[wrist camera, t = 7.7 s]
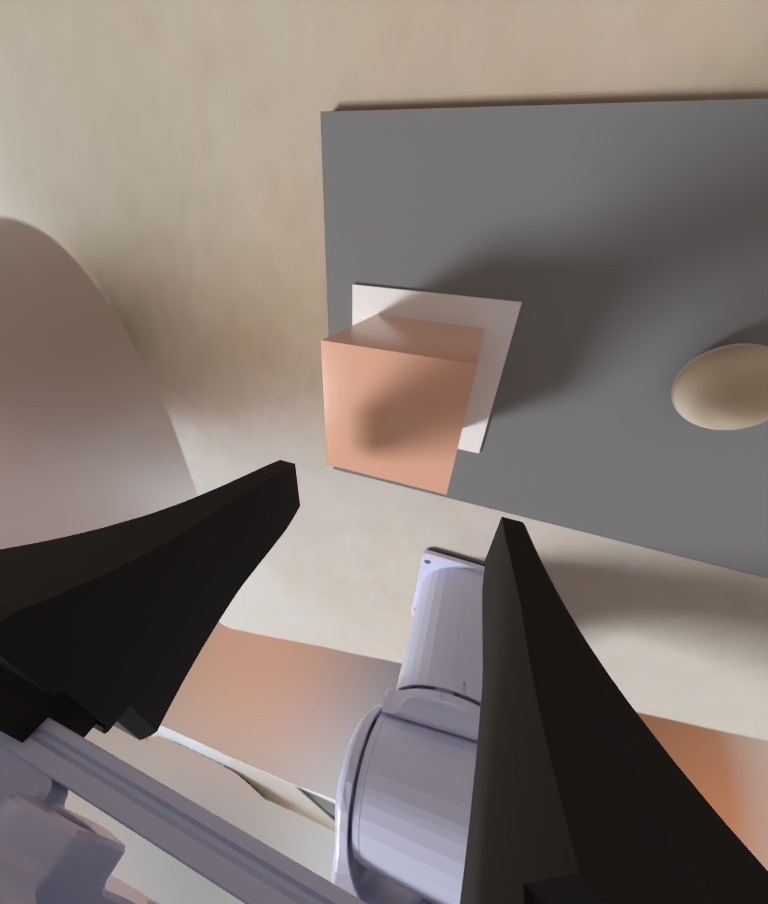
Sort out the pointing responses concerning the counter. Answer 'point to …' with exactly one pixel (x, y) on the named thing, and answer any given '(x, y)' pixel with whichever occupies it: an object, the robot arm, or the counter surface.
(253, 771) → the counter surface
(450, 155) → the mat
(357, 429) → the copper orange block
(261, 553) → the robot arm
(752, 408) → the ball
